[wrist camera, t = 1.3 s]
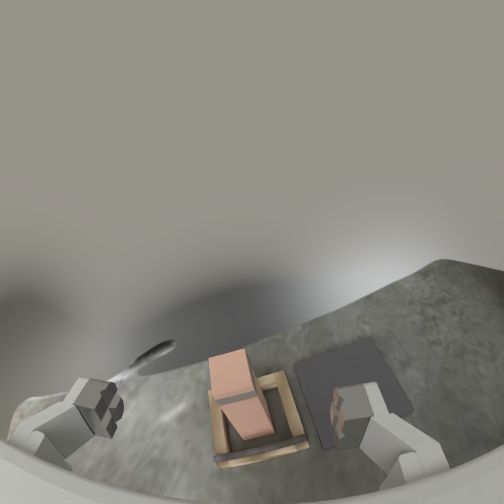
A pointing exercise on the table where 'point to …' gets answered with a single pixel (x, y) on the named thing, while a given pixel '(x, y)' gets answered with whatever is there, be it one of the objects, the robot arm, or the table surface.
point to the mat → (347, 383)
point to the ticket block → (240, 394)
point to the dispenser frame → (265, 451)
